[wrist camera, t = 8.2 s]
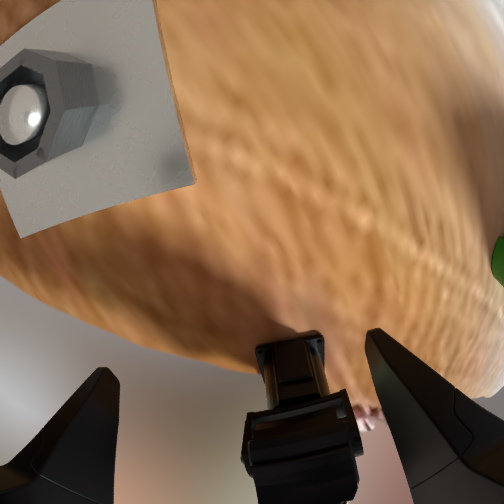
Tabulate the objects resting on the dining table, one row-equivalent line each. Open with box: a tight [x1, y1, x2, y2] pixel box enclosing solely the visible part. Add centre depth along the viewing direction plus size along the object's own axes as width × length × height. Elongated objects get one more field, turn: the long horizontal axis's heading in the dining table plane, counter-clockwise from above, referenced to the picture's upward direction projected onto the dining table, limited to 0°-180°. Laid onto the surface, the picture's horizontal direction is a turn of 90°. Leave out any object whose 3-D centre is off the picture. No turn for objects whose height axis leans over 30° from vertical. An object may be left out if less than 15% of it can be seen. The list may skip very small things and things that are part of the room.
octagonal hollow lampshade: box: [0, 48, 100, 179], centre depth 11 cm, size 7×7×4 cm
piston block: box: [0, 0, 197, 238], centre depth 11 cm, size 16×16×5 cm
